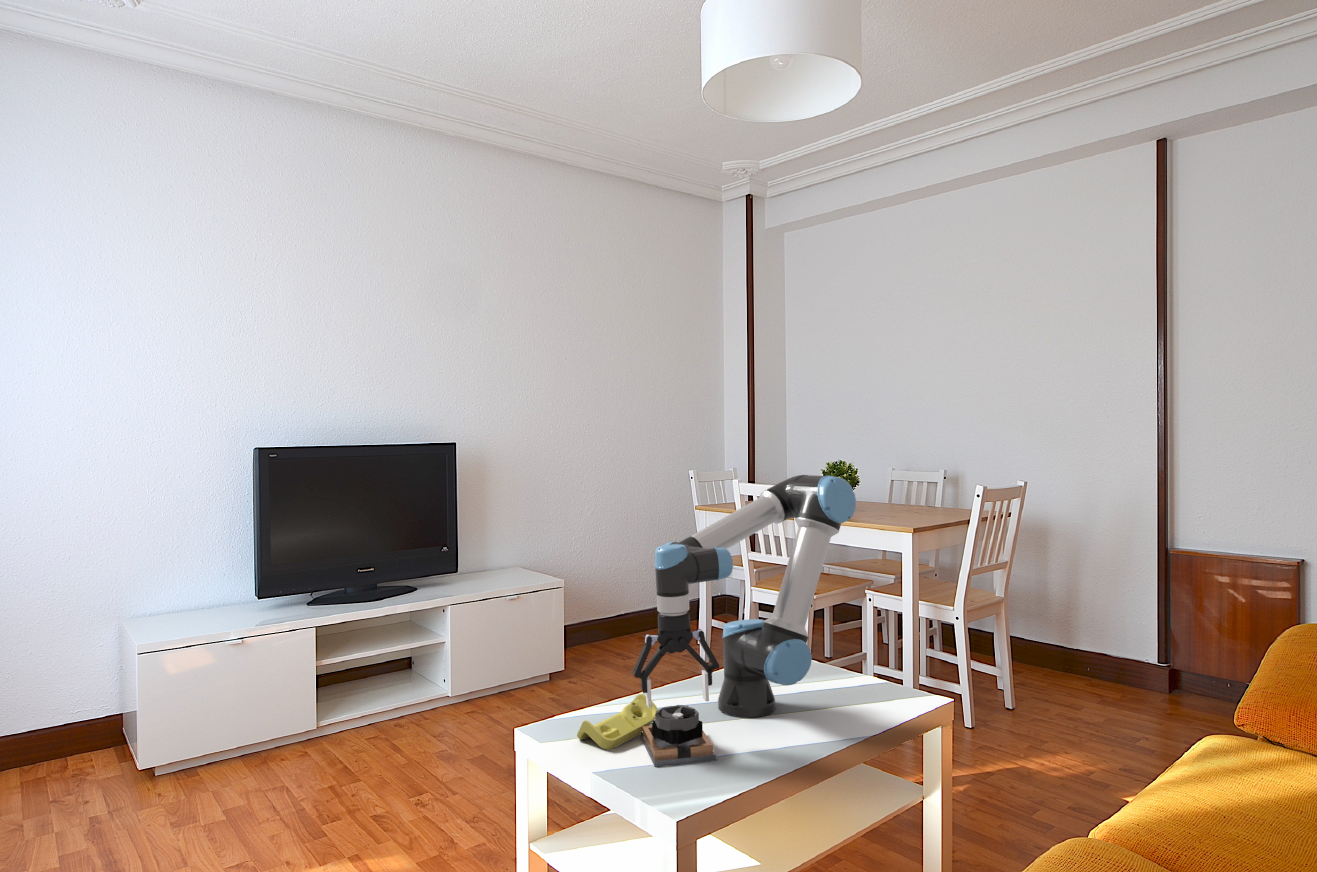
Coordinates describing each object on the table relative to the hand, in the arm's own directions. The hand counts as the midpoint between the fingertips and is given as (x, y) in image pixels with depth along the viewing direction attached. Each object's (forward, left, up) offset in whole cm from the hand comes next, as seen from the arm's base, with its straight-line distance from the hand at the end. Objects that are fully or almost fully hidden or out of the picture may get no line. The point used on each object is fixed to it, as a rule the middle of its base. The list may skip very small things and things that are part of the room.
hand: (677, 702), depth 186 cm
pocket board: (0, 0, -10) cm, 10 cm away
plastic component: (+12, -11, -11) cm, 20 cm away
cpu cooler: (0, +1, -8) cm, 8 cm away
